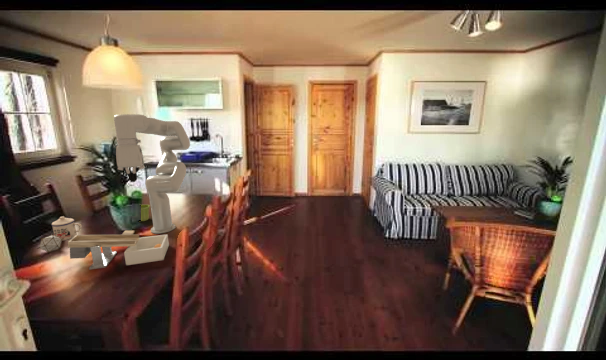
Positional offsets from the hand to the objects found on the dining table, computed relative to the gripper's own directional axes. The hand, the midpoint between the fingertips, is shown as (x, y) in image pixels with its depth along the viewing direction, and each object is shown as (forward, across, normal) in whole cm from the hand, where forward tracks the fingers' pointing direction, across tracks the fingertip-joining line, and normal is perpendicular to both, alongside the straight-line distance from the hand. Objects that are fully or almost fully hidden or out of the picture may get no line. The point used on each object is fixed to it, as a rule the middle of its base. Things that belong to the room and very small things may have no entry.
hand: (133, 181), depth 124 cm
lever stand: (+33, +13, +11) cm, 37 cm away
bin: (+33, -5, +11) cm, 35 cm away
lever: (+30, +12, +7) cm, 33 cm away
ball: (+30, -9, +11) cm, 34 cm away
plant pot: (+33, +9, -39) cm, 52 cm away
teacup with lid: (+33, +40, -23) cm, 57 cm away
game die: (+33, +40, -7) cm, 53 cm away
